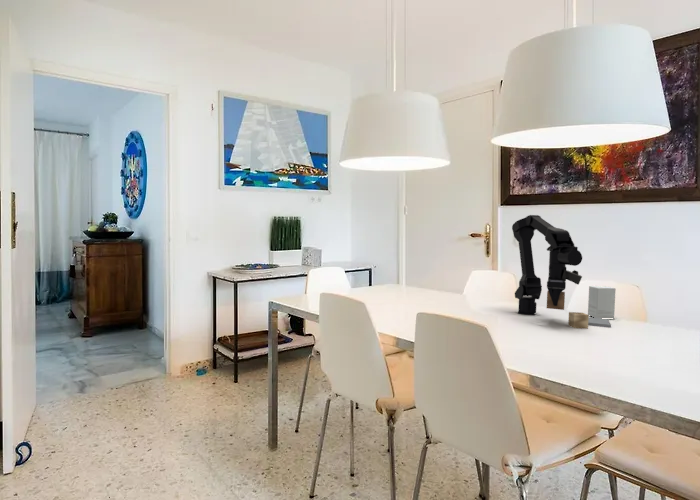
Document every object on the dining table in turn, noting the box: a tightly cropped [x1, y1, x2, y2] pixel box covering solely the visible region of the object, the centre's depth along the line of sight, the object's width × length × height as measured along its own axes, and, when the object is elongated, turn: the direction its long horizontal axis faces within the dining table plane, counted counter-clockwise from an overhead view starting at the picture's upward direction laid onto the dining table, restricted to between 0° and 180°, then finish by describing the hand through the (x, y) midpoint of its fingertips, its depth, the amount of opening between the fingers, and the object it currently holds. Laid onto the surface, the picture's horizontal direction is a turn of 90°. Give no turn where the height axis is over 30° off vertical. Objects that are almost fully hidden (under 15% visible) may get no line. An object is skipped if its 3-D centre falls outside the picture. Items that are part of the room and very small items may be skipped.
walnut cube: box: [546, 290, 566, 311], centre depth 176 cm, size 6×6×6 cm
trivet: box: [588, 316, 612, 328], centre depth 179 cm, size 12×12×1 cm
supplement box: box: [587, 285, 616, 320], centre depth 190 cm, size 7×7×13 cm
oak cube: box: [567, 311, 590, 329], centre depth 171 cm, size 5×5×5 cm
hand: (555, 304), depth 176 cm, fingers closed on walnut cube, 6 cm apart
